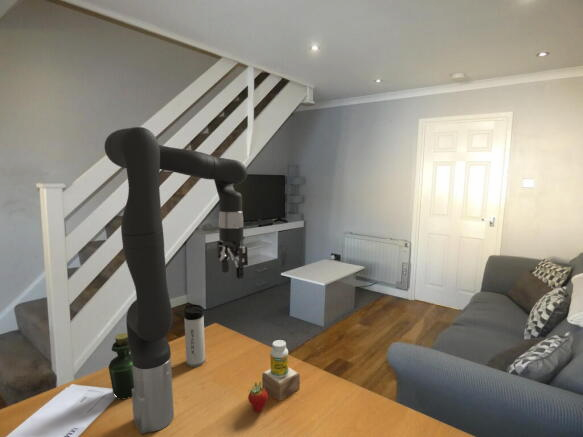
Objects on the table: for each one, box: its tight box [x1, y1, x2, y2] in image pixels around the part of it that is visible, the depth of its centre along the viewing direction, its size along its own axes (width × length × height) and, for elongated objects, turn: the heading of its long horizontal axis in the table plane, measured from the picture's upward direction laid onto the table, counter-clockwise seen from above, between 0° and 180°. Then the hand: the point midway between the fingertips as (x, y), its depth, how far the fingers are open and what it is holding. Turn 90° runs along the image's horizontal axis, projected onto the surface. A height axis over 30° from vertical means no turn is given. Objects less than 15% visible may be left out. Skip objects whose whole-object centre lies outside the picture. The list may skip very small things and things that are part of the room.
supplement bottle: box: [270, 339, 289, 378], centre depth 102 cm, size 5×5×10 cm
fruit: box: [247, 381, 269, 413], centre depth 94 cm, size 5×5×8 cm
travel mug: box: [183, 303, 206, 368], centre depth 117 cm, size 6×7×20 cm
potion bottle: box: [108, 332, 134, 400], centre depth 101 cm, size 8×8×18 cm
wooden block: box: [261, 366, 301, 402], centre depth 104 cm, size 8×8×5 cm
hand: (232, 275), depth 110 cm, fingers open, 8 cm apart
